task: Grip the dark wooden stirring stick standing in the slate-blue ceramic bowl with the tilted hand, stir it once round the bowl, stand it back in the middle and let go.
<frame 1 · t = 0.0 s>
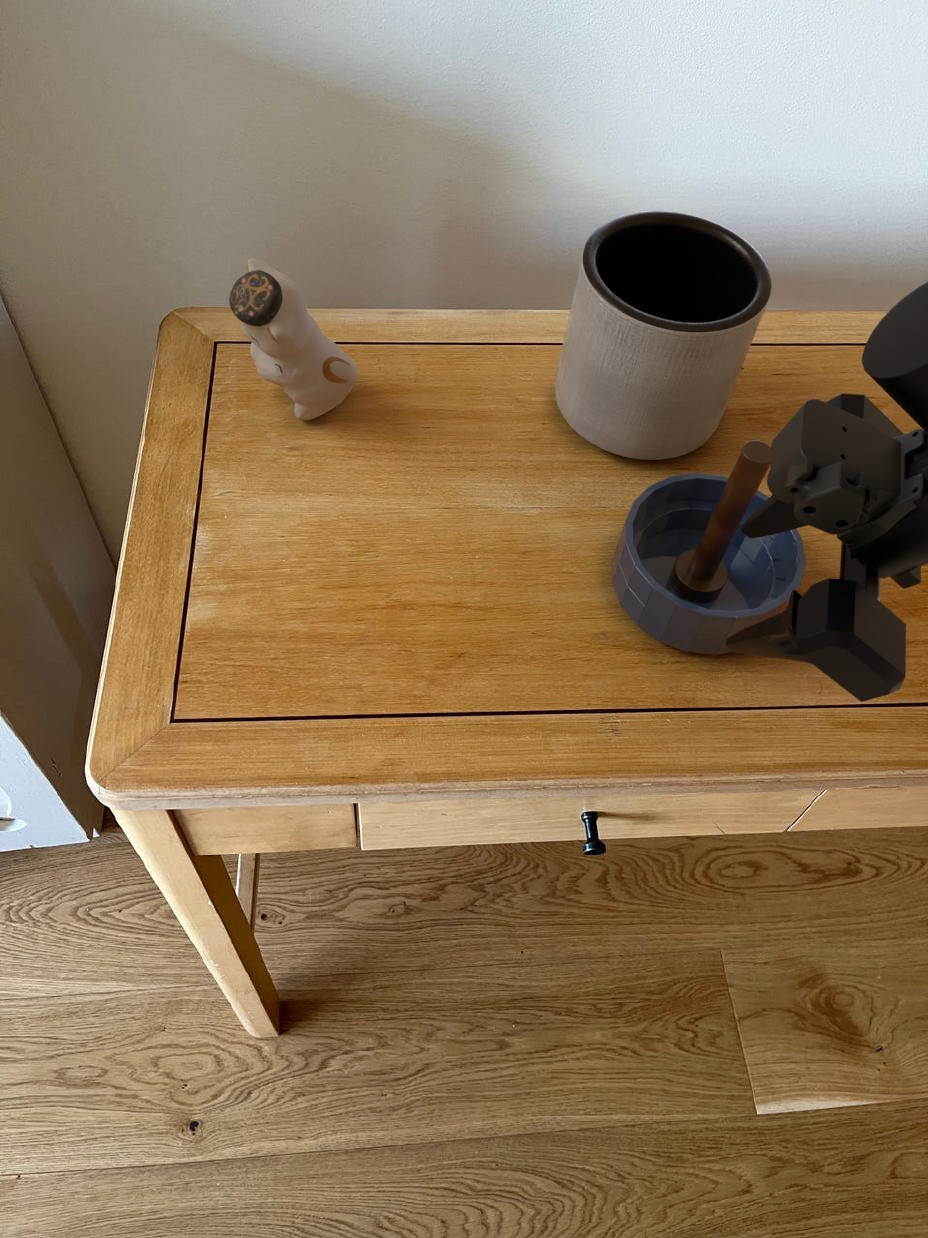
hand: (737, 587, 59), 15 cm above the table, tool tilted 35°, fingers open, 9 cm apart
figurine: (304, 407, 86), on the table
bowl: (694, 585, 78), on the table
planter: (634, 406, 89), on the table
stirring stick: (696, 581, 77), point 1 cm above the table, touching bowl
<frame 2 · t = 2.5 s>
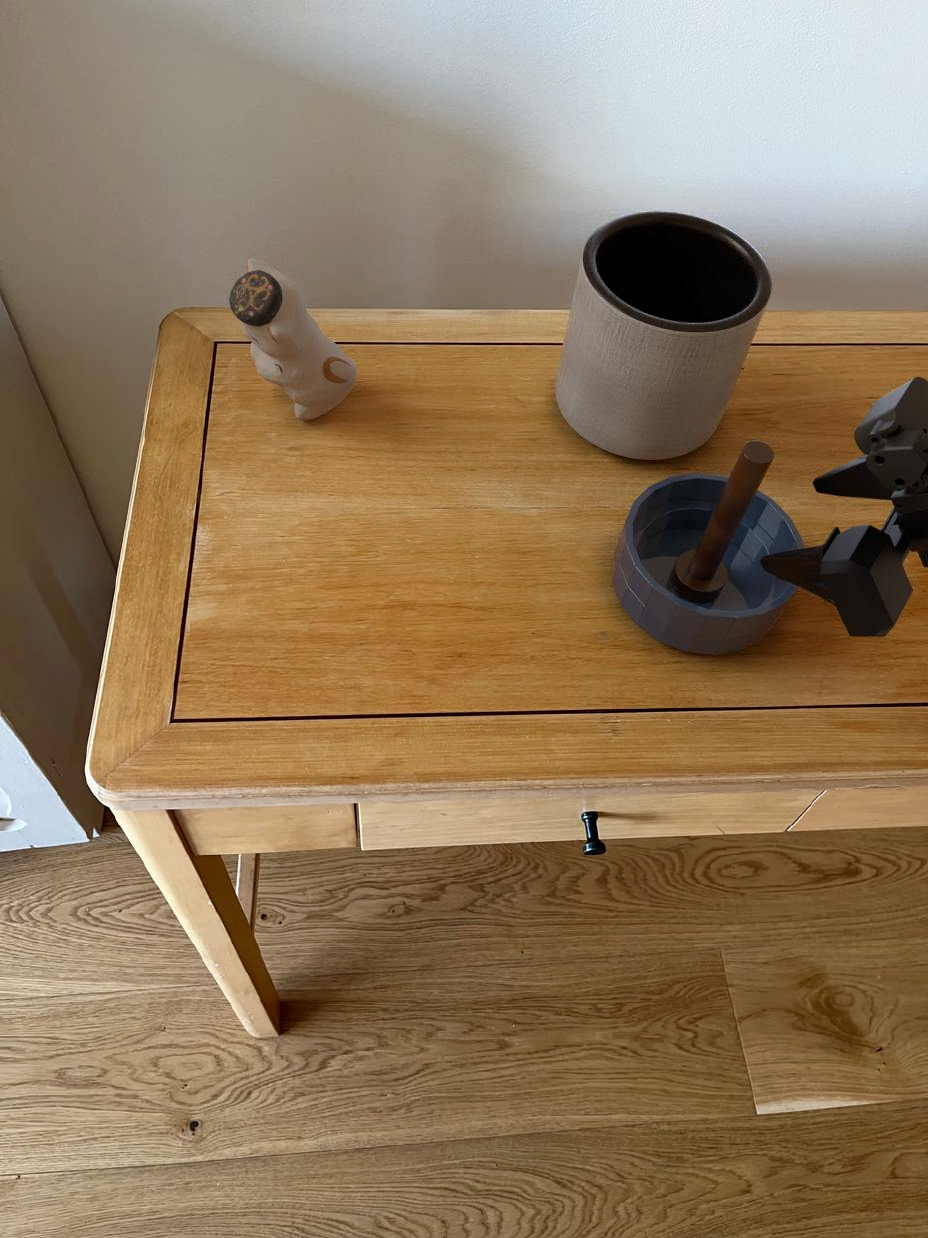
hand: (789, 523, 67), 12 cm above the table, tool tilted 45°, fingers open, 9 cm apart
nothing on the table moved.
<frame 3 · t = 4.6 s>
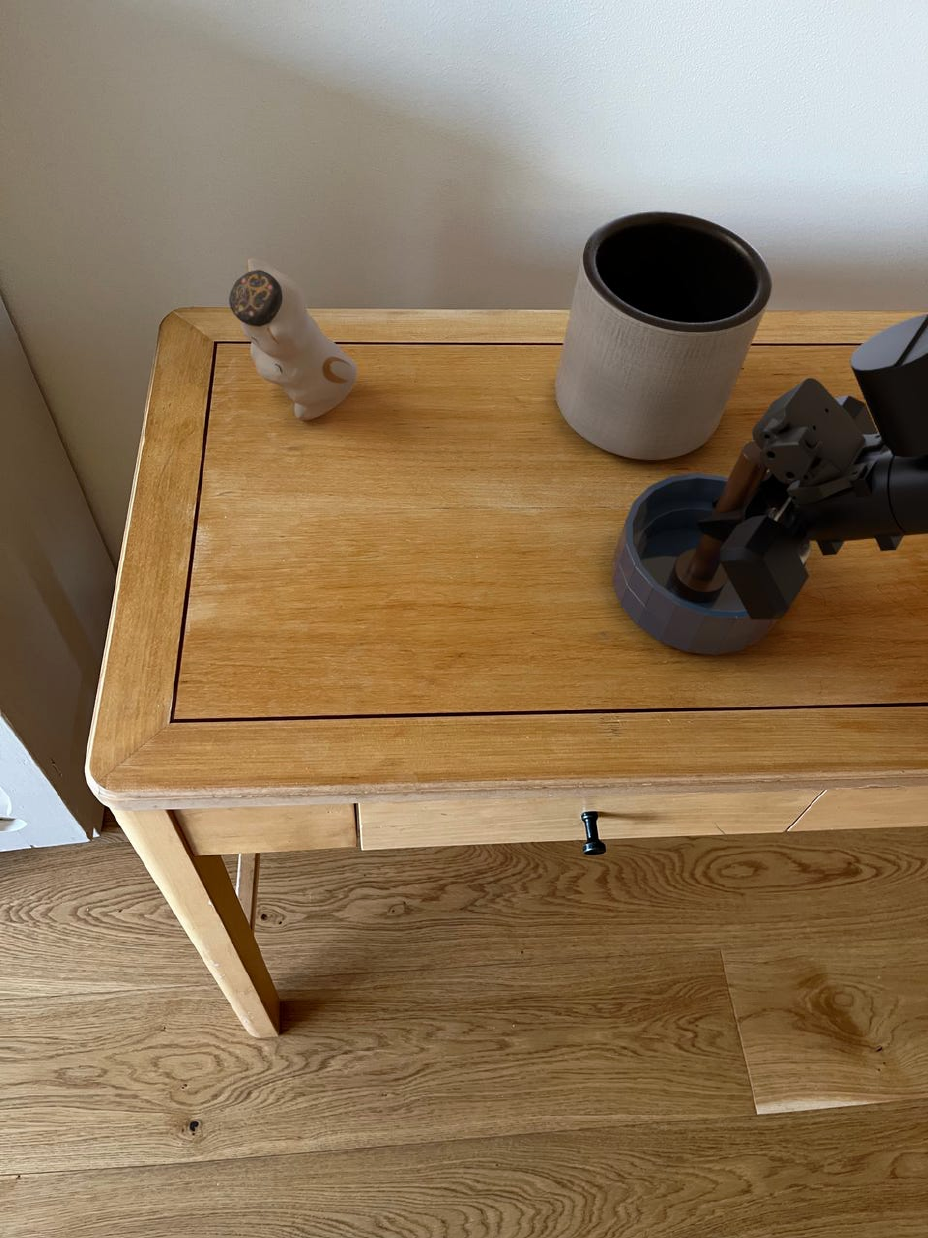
hand: (707, 516, 71), 8 cm above the table, tool tilted 45°, fingers closed on stirring stick, 2 cm apart
stirring stick: (696, 581, 77), point 1 cm above the table, touching bowl, gripper
everything else where it was.
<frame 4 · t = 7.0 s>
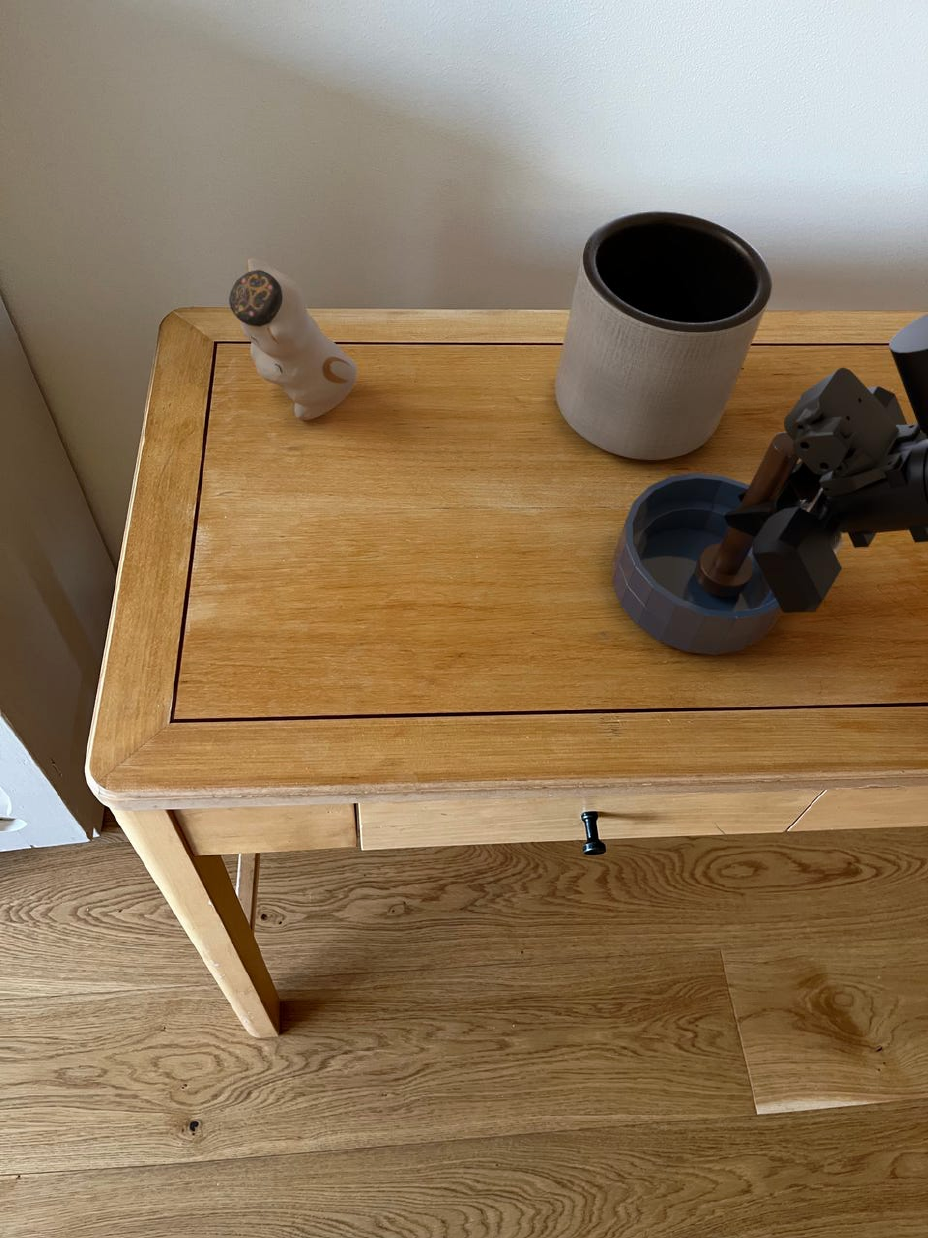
hand: (734, 509, 71), 9 cm above the table, tool tilted 45°, fingers closed on stirring stick, 2 cm apart
stirring stick: (721, 575, 77), point 2 cm above the table, touching gripper
everything else where it was.
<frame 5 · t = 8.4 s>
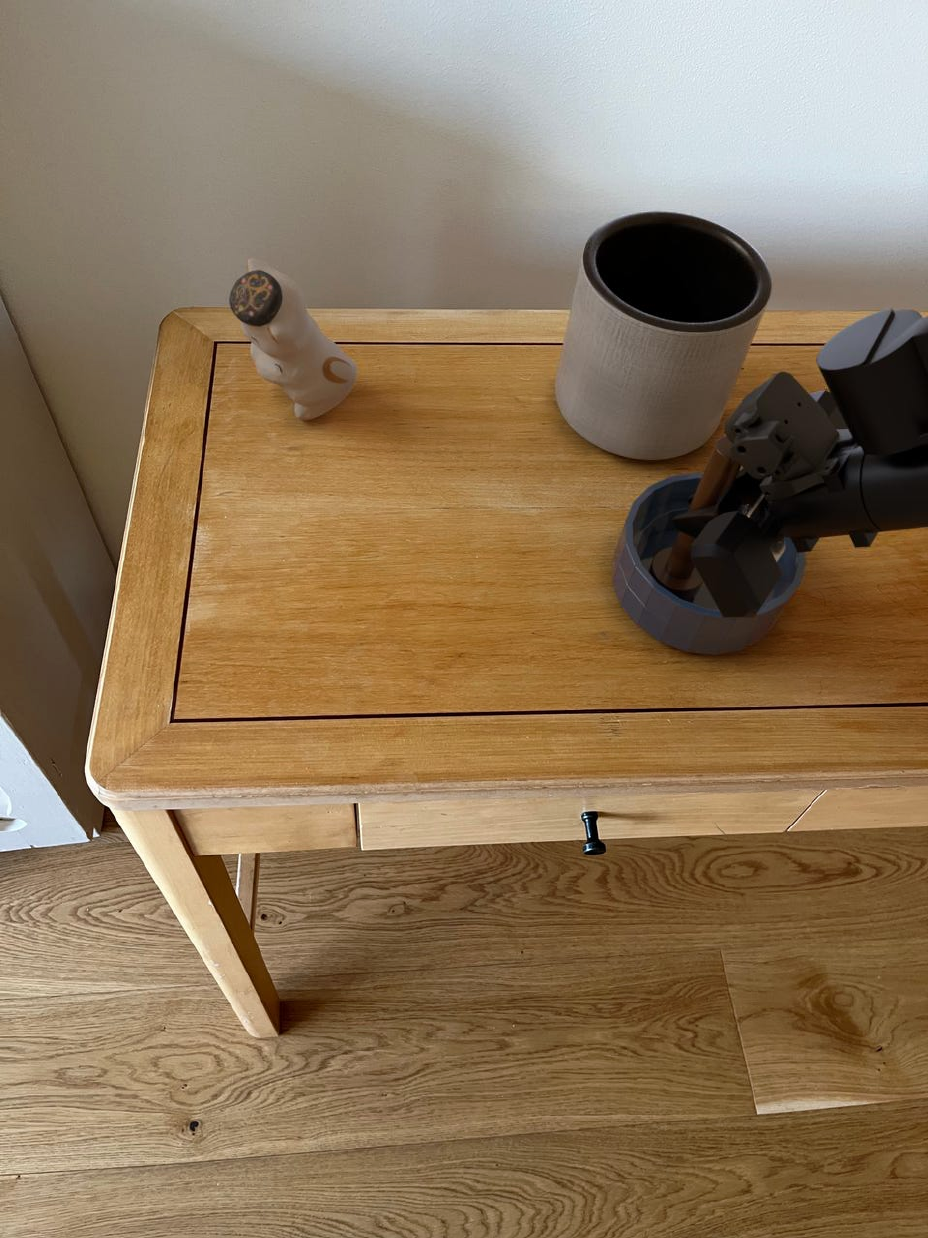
hand: (683, 513, 70), 9 cm above the table, tool tilted 45°, fingers closed on stirring stick, 2 cm apart
stirring stick: (674, 579, 76), point 1 cm above the table, touching gripper
everything else where it was.
when the fingers open (8 cm above the table, at t = 9.3 s): stirring stick stays where it is, resting on bowl.
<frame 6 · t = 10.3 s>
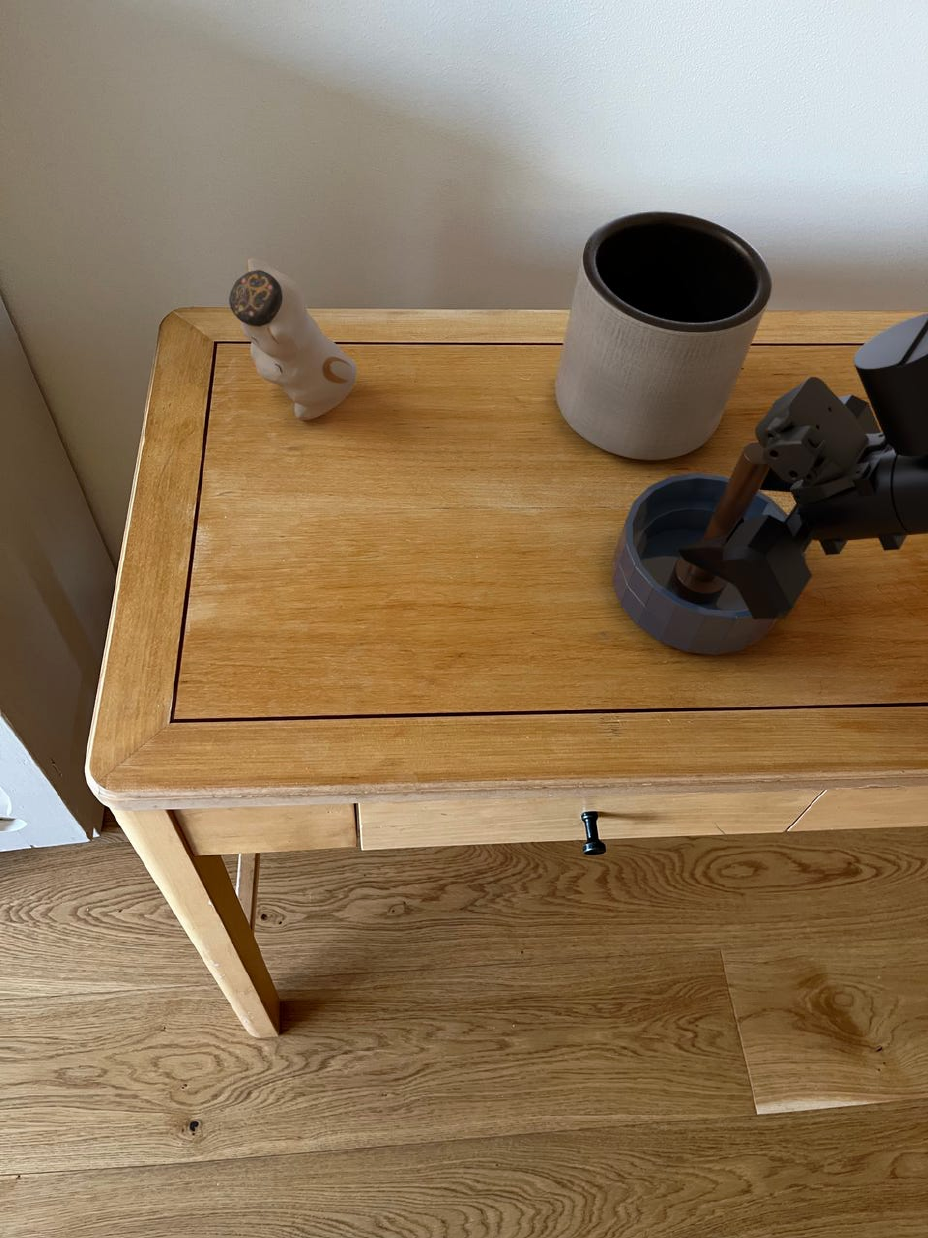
hand: (709, 515, 71), 8 cm above the table, tool tilted 45°, fingers open, 9 cm apart
stirring stick: (696, 582, 77), point 1 cm above the table, touching bowl
everything else where it was.
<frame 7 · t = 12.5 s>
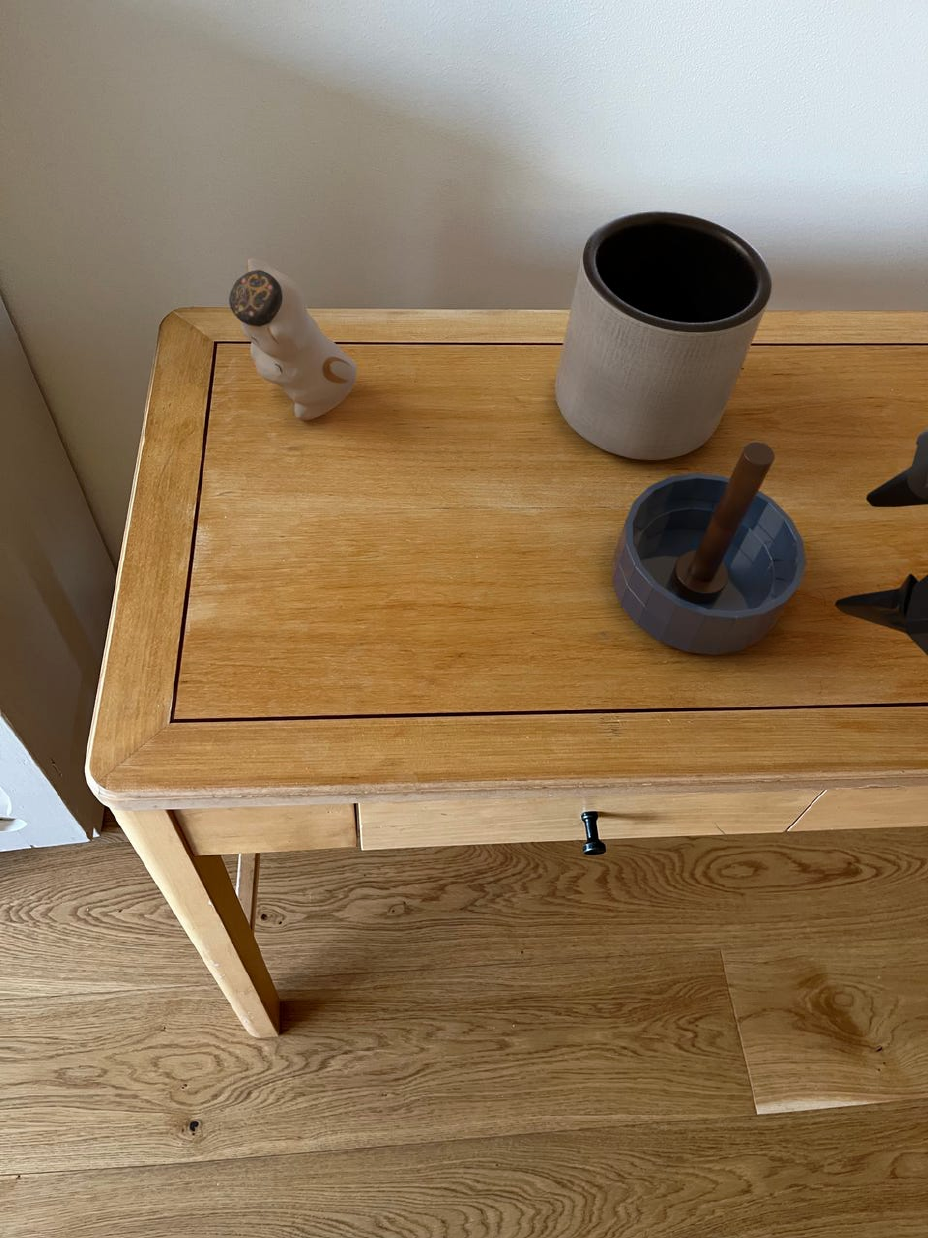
hand: (854, 552, 65), 12 cm above the table, tool tilted 40°, fingers open, 9 cm apart
nothing on the table moved.
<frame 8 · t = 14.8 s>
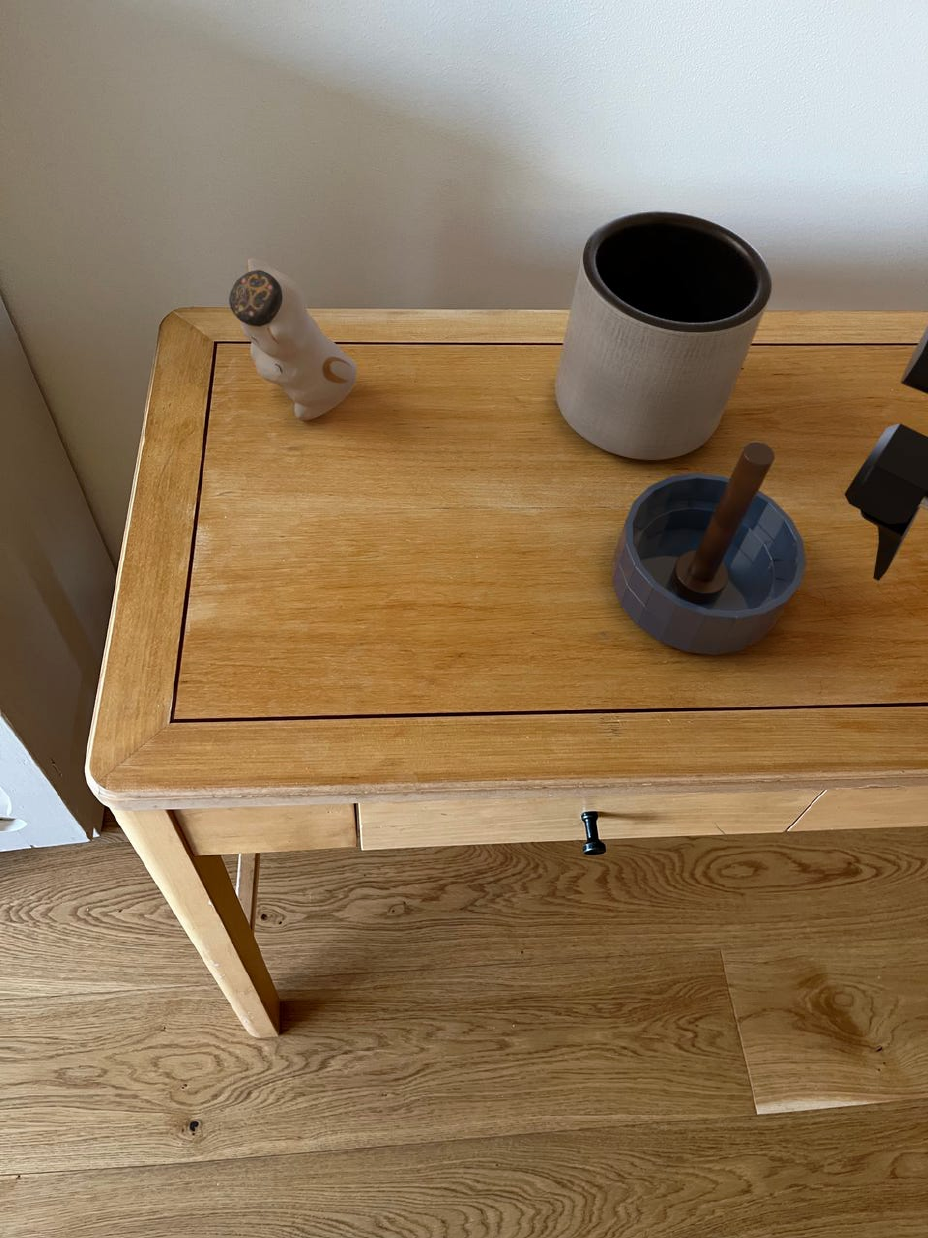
nothing on the table moved.
at the end: stirring stick 0.1 cm off-centre in the bowl, point 0.6 cm above the bowl's base; stirring stick tilted 0°; the gripper is holding nothing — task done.
